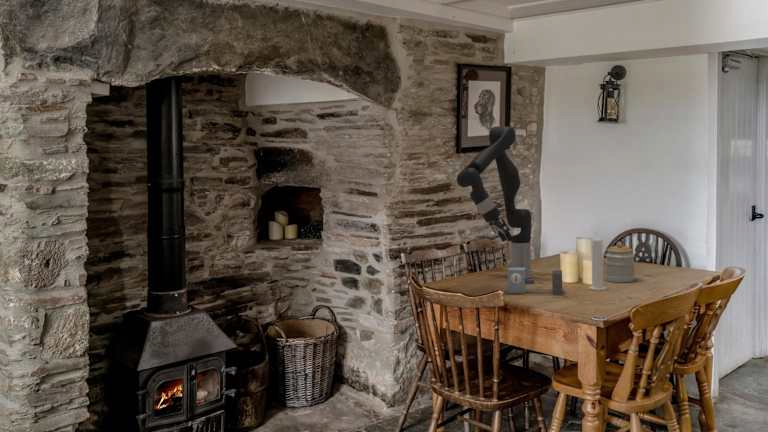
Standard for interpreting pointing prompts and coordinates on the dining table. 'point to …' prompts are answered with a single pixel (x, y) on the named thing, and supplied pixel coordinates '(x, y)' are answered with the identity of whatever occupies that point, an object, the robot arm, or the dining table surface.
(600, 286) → the candle
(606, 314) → the dining table surface
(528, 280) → the grey box with emblem
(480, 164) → the robot arm
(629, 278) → the jar
